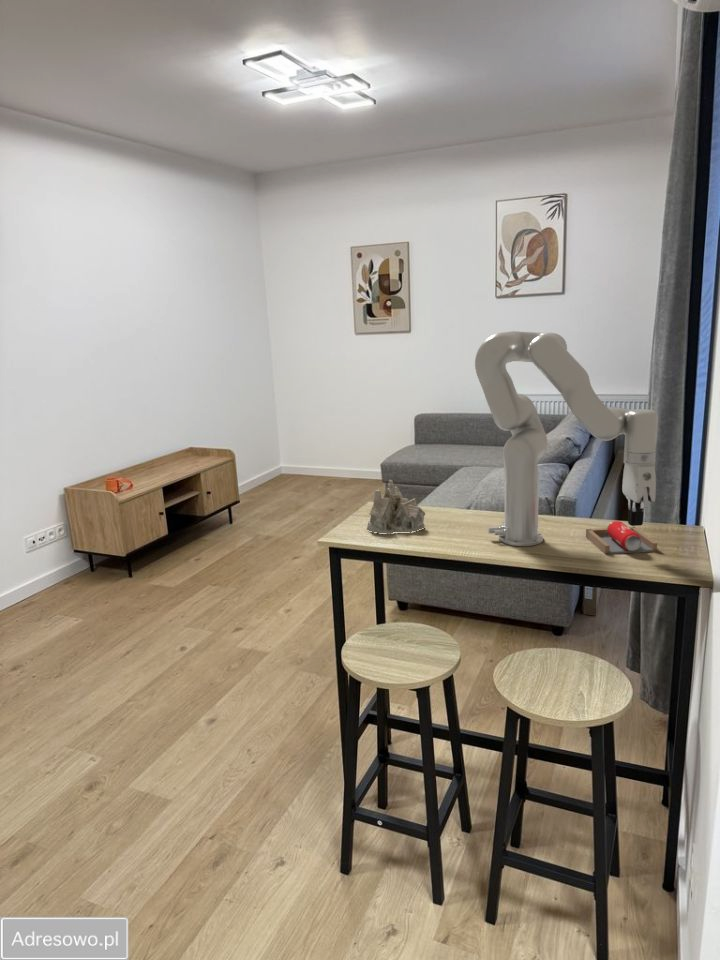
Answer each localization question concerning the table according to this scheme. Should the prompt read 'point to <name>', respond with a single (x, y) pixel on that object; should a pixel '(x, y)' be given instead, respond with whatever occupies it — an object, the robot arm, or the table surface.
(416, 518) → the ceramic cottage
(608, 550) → the tray
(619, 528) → the beverage can
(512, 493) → the robot arm
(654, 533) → the table surface
